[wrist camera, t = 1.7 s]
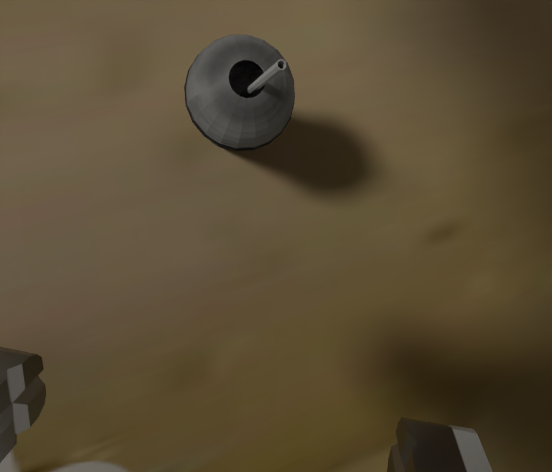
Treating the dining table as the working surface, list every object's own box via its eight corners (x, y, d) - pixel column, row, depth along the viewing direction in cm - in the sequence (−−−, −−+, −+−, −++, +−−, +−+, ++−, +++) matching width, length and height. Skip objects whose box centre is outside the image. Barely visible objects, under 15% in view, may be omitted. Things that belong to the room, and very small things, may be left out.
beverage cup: (206, 69, 39) (216, -60, 20) (279, 104, 41) (356, 17, 21) (175, 143, 39) (153, 89, 20) (249, 176, 41) (297, 157, 21)
